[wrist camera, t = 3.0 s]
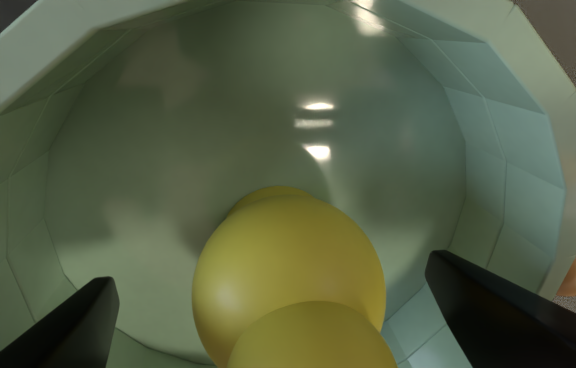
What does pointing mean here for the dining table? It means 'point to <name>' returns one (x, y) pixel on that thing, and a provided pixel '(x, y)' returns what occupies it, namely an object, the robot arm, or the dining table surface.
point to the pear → (290, 287)
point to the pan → (276, 151)
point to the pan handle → (569, 283)
